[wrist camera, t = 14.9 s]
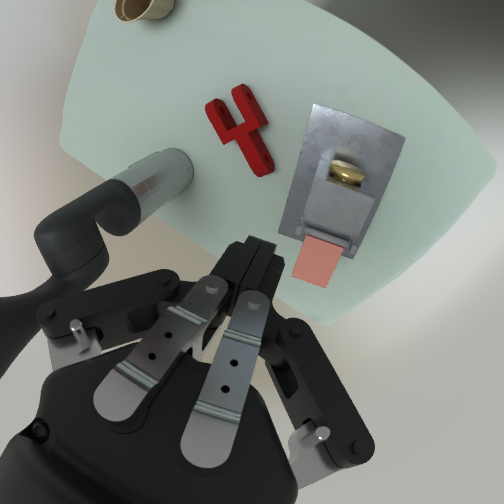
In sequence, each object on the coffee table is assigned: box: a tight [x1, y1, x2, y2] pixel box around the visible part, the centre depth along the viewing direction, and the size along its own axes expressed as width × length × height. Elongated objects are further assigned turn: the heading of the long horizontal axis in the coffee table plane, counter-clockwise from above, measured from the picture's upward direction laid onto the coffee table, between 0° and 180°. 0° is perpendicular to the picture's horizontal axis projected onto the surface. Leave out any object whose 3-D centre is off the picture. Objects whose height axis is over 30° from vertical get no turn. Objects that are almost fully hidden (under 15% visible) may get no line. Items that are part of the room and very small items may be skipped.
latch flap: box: [292, 226, 350, 288], centre depth 42 cm, size 7×9×1 cm
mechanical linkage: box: [205, 84, 274, 177], centre depth 43 cm, size 16×7×5 cm, turn 28°
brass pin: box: [329, 160, 365, 184], centre depth 43 cm, size 6×14×6 cm, turn 169°
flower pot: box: [114, 0, 174, 23], centre depth 30 cm, size 9×9×9 cm
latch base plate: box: [278, 104, 405, 259], centre depth 41 cm, size 16×26×12 cm, turn 169°
